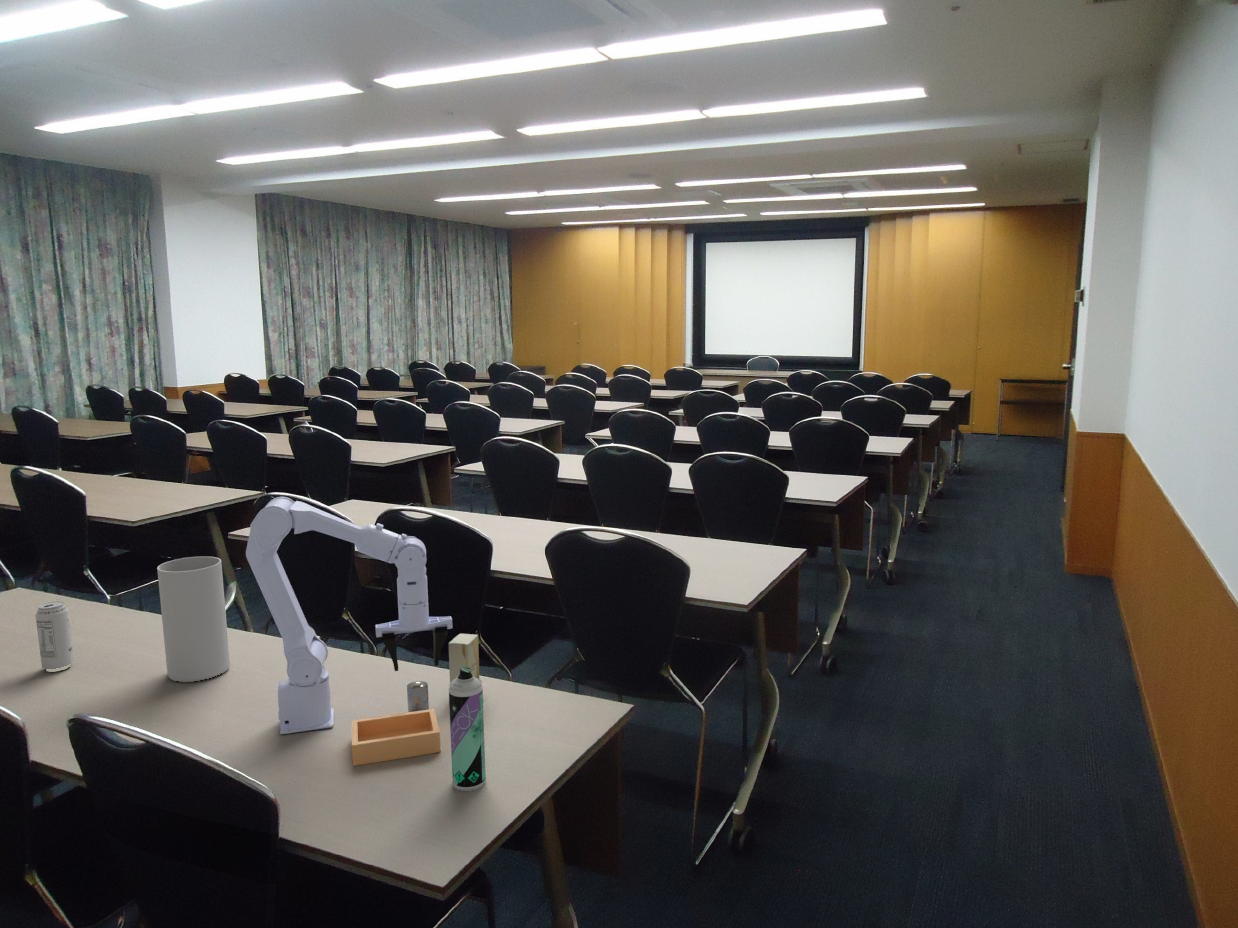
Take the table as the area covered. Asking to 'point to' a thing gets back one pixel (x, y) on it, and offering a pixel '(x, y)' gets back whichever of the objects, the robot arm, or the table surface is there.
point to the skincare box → (463, 655)
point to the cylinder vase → (193, 618)
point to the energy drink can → (54, 635)
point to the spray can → (467, 731)
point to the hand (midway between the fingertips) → (416, 666)
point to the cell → (417, 696)
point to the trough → (395, 736)
